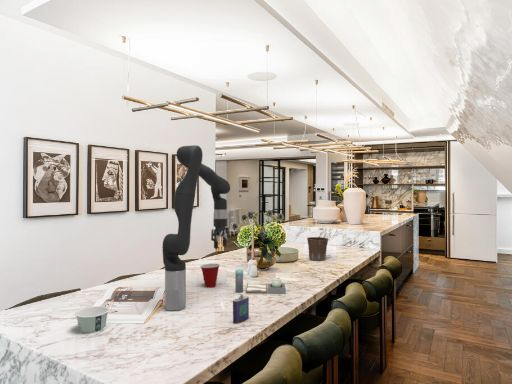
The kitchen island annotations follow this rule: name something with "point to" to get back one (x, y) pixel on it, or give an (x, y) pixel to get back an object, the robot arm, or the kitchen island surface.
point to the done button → (276, 283)
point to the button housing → (276, 289)
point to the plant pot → (317, 248)
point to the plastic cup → (210, 274)
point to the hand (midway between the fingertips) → (220, 247)
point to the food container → (92, 318)
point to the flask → (240, 309)
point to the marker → (239, 281)
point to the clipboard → (256, 288)
